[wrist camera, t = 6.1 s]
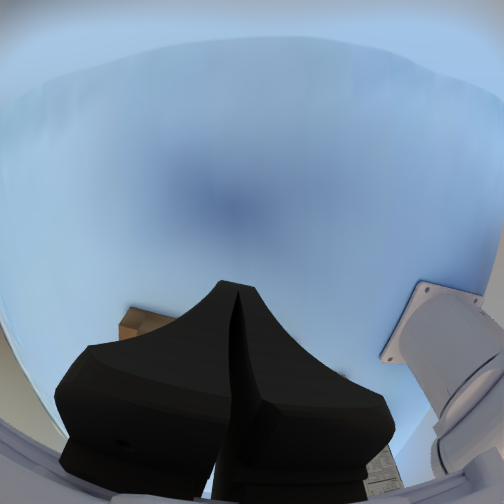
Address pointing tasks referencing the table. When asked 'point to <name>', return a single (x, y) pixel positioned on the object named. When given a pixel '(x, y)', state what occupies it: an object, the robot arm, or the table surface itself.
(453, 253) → the table surface
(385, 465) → the candy bar box
